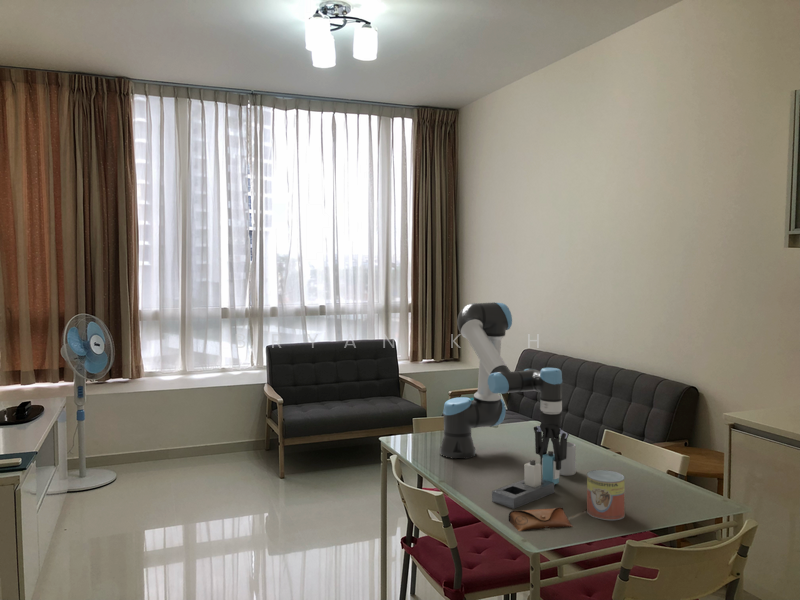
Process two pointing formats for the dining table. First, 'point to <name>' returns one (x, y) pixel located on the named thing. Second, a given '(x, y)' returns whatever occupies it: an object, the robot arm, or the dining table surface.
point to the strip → (521, 493)
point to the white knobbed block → (532, 474)
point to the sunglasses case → (538, 519)
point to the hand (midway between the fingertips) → (550, 476)
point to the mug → (569, 460)
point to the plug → (549, 467)
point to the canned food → (605, 494)
